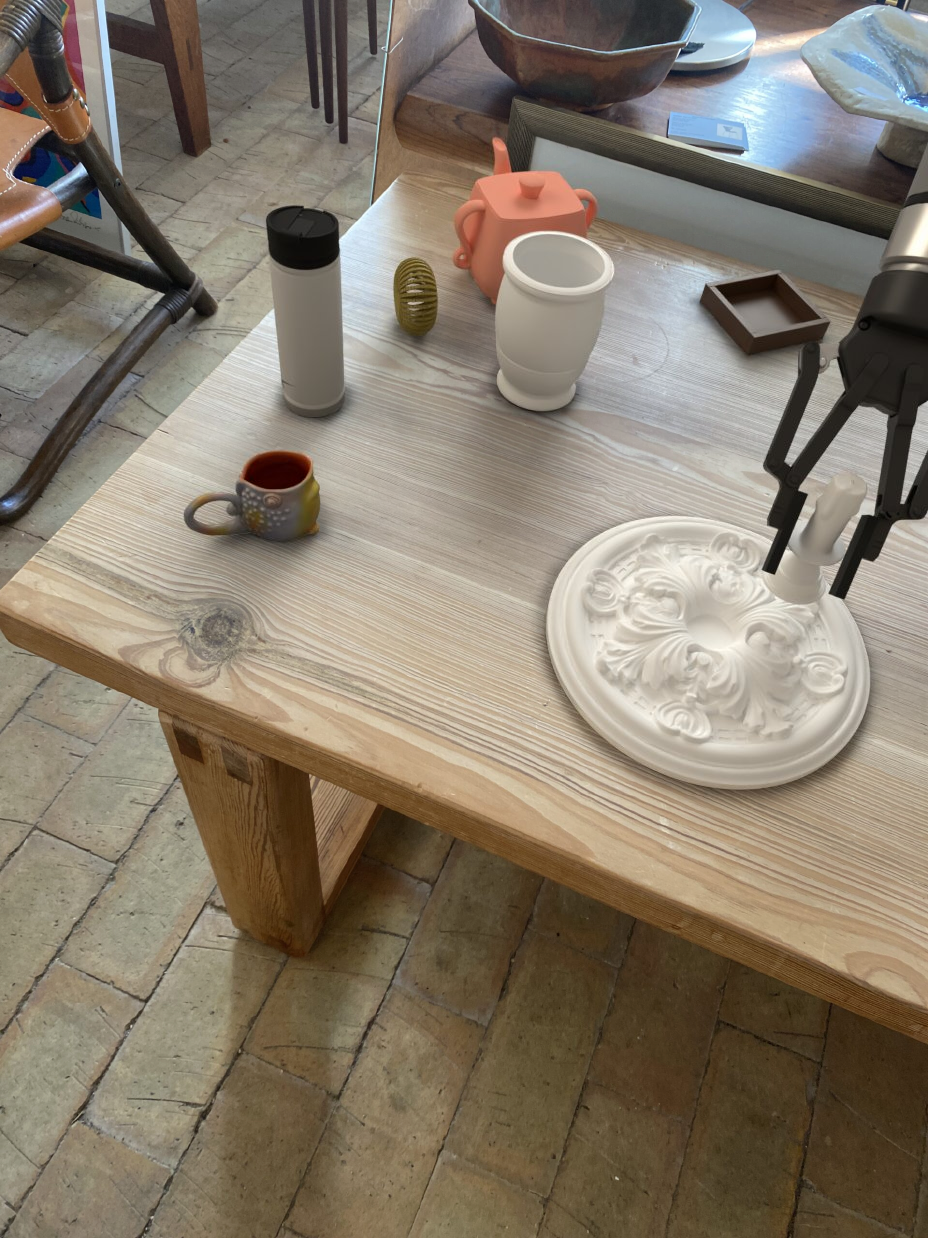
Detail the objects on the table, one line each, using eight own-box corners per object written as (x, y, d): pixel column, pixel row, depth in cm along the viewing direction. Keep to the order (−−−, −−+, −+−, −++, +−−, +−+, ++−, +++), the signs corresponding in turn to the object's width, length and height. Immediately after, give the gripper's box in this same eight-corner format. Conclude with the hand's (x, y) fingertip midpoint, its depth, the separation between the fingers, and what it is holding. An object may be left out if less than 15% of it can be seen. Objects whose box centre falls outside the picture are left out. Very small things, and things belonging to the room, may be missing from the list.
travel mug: (272, 412, 92) (251, 227, 76) (295, 372, 96) (280, 188, 79) (332, 426, 91) (323, 243, 75) (352, 385, 95) (348, 202, 79)
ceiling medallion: (751, 493, 90) (762, 470, 88) (933, 726, 76) (953, 707, 73) (494, 563, 82) (498, 540, 80) (644, 838, 68) (654, 821, 65)
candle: (798, 616, 73) (863, 515, 63) (747, 573, 75) (803, 470, 66) (837, 585, 75) (906, 484, 66) (787, 545, 78) (847, 441, 68)
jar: (601, 381, 99) (633, 256, 87) (555, 434, 93) (583, 308, 81) (517, 342, 101) (536, 215, 89) (468, 391, 96) (482, 263, 84)
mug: (308, 485, 86) (304, 432, 81) (331, 537, 83) (328, 486, 77) (180, 515, 83) (167, 462, 77) (198, 570, 79) (185, 519, 74)
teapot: (550, 339, 102) (570, 234, 92) (423, 286, 106) (429, 181, 96) (604, 275, 111) (628, 173, 100) (485, 229, 114) (496, 126, 104)
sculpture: (389, 307, 103) (391, 242, 97) (424, 305, 104) (428, 240, 98) (402, 352, 99) (404, 287, 92) (438, 349, 100) (443, 285, 93)
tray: (822, 339, 107) (831, 321, 104) (747, 355, 103) (754, 337, 101) (772, 287, 112) (779, 268, 110) (699, 301, 109) (705, 282, 107)
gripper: (1031, 332, 68) (903, 620, 72) (800, 263, 71) (690, 544, 75) (1075, 309, 61) (931, 631, 65) (816, 234, 64) (693, 546, 68)
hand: (802, 583), depth 70 cm, fingers closed on candle, 5 cm apart
